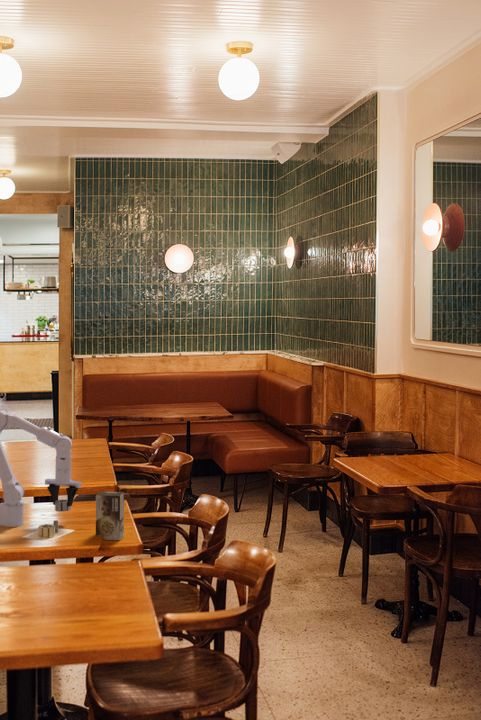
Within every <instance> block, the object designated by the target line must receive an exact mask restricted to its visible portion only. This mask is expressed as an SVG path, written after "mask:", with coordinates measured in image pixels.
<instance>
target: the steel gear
mask: <svg viewBox="0 0 481 720" xmlns="http://www.w3.org/2000/svg"><path fill="white" fill-rule="evenodd" d="M71 509H72V506H68V504H67V498H66V499H64V498H63V499H58V500H56V501H55V505H54V510H55V512H60V513H61V512H62V513H63V512H69V511H71Z"/></svg>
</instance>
